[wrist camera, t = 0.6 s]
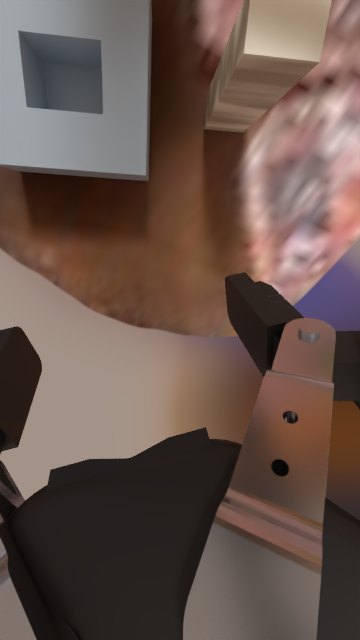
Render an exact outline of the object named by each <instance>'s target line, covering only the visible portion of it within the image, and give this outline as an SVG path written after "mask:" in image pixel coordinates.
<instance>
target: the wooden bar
mask: <svg viewBox="0 0 360 640" xmlns="http://www.w3.org/2000/svg"><path fill="white" fill-rule="evenodd" d="M331 1H332V0H244V2H243V4H242V7H241V9H240V12H239V14H238V17H237V19H236V22H235V24H234V27H233V29H232V32H231V34H230V37H229V40H228V42H227V45H226V47H225V50H224V52H223V55H222V57H221V60H220V62H219V65H218V67H217V70H216V72H215V75H214V77H213V80H212V82H211V85H210V87H209V90H208V92H207V95H206V106H205V118H204V129H207V130H218V131H229V132H240V133H244V132H245V131H246V130H247V129H248V128H249V127H250V126H251V125H252V124H253V123H254V122H256V121H257V120H258V119H259V118H260V117H261V116H262V115H263V114H264V113H265V112H266V111H267V110H268V109H270V108H271V107H272V106H273V105H274V104H275V103H276V102H277V101H278V100H279V99H280V98H281V97H283V96H284V95H285V94H286V93H287V92H288V91H289V90H290V89H291V88H292V87H293V86H294V85H295V84H297V83H298V82H299V81H300V80H301V79H302V78H303V77H304V76H305V75H306V74H307V73H308V72H310V71H311V70H312V69H313V68H314V67H315V66H316V65H317V64H318V63H319V62H320V58H321V53H322V48H323V42H324V37H325V32H326V27H327V22H328V17H329V11H330V6H331Z"/></svg>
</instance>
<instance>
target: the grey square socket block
mask: <svg viewBox="0 0 360 640" xmlns="http://www.w3.org/2000/svg"><path fill="white" fill-rule="evenodd" d="M151 46H152V8H151V0H0V166H1V167H5V168H9V169H13V170H16V171H20V172H33V173H46V174H59V175H72V176H85V177H98V178H112V179H125V180H138V181H149V144H150V95H151Z"/></svg>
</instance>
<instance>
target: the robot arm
mask: <svg viewBox="0 0 360 640" xmlns="http://www.w3.org/2000/svg"><path fill="white" fill-rule="evenodd" d="M225 287H226V300H227V311H228V316H229V320H230V322H231V324H232V326H233V328H234V330H235V331H236V333H237V334H238V336H239V338H240V339H241V341H242V343H243V344H244V346H245V348H246V349H247V351H248V352H249V354H250V356H251V358H252V359H253V361H254V362H255V364H256V366H257V367H258V369H259V371H260V372H261V374H262V376H263V377H264V379H263V382H262V386H261V389H260V392H259V395H258V398H257V401H256V404H255V407H254V410H253V413H252V416H251V420H250V423H249V426H248V429H247V432H246V435H245V439H244V442H243V444H239V443H236V442H232V441H228V440H221V439H209V437H208V433H207V430H206V428H202V429H198V430H195V431H191V432H187V433H184V434H180V435H176V436H173V437H169V438H167V439H165V440H163V441H162V442H160V443H158V444H156V445H154V446H152V447H150V448H148V449H147V450H145V451H143V452H141V453H139V454H137V455H136V456H134V457H131V458H126V459H89V460H85V461H81V462H78V463H74V464H70V465H67V466H63V467H59V468H56V469H52V470H50V476H49V481H48V485H47V486H45V487H43V488H42V489H40V490H39V491H37V492H36V493H34V494H33V495H32V496H31V497H29V498H28V499H27V500H24V498H23V496H22V495H21V493H20V491H19V489H18V487H17V486H16V484H15V482H14V481H13V479H12V477H11V475H10V474H9V472H8V470H7V468H6V467H5V465H4V463H2V461H1V460H0V640H360V520H359V519H357V518H356V517H355V516H353V515H352V514H350V513H348V512H347V511H346V510H344V509H342V508H341V507H339V506H338V505H337V504H335V503H333V502H332V501H331V500H329V499H327V498H326V497H325V492H326V480H327V467H328V454H329V441H330V430H331V417H332V404H333V401H335V400H337V401H354V403H355V404H356V405H357V407H358V408H359V409H360V331H335V330H334V329H333V327H331V325H329V324H327V323H326V322H324V321H321V320H318V319H313V318H304V317H303V316H302V315H301V314H300V313H299V312H298V311H297V310H296V309H295V308H294V307H293V306H292V305H291V304H290V303H289V302H288V301H287V300H285V299H284V297H283V296H282V295H281V294H279V293H278V292H277V291H276V290H275V289H274V288H273V287H272V286H271V285H269V284H266V283H264V282H261V281H259V282H254V281H253V280H252V279H251V278H250V277H249V276H248V275H247V274H246V273H245V272H243V273H239V274H235V275H231V276H227V277H226V278H225ZM41 372H42V364H41V360H40V358H39V356H38V354H37V352H36V351H35V349H34V348H33V346H32V344H31V343H30V341H29V340H28V338H27V336H26V335H25V333H24V331H23V330H22V329H21V328H20V327H13V328H8V329H4V330H0V453H1V451H5V450H8V449H12V448H16V447H18V445H19V442H20V439H21V436H22V432H23V429H24V426H25V423H26V420H27V417H28V413H29V410H30V406H31V404H32V401H33V397H34V394H35V391H36V388H37V385H38V381H39V378H40V375H41Z"/></svg>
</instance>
